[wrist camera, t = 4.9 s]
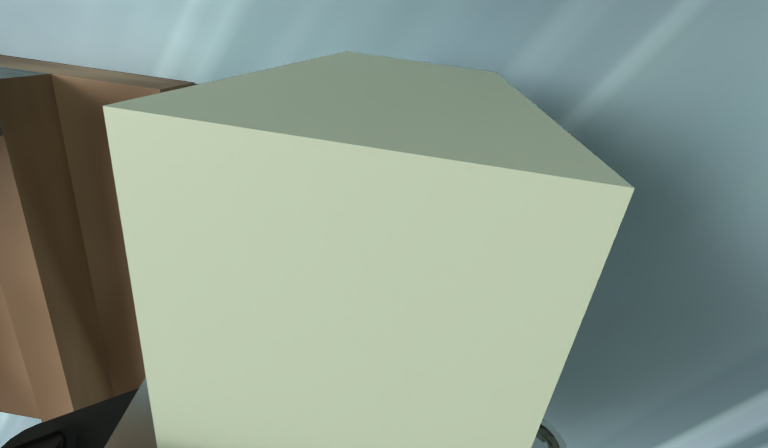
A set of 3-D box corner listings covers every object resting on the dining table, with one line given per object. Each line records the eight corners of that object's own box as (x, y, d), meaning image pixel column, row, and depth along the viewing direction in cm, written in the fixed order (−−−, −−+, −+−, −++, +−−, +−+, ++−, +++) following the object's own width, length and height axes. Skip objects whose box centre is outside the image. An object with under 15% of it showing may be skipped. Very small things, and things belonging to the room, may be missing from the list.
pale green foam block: (496, 72, 11) (634, 188, 3) (419, 419, 17) (394, 789, 9) (346, 51, 11) (103, 105, 3) (319, 400, 17) (204, 741, 9)
